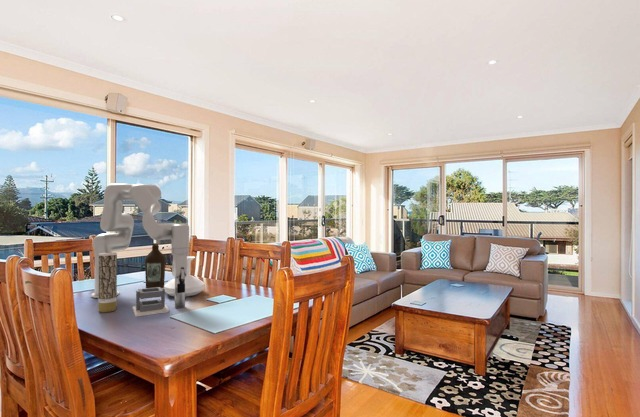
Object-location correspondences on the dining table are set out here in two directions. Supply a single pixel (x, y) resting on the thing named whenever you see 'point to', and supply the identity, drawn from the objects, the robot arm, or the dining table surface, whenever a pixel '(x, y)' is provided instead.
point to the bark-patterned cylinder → (107, 282)
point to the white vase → (186, 283)
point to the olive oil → (155, 268)
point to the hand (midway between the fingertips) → (179, 291)
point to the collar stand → (150, 302)
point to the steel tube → (179, 296)
